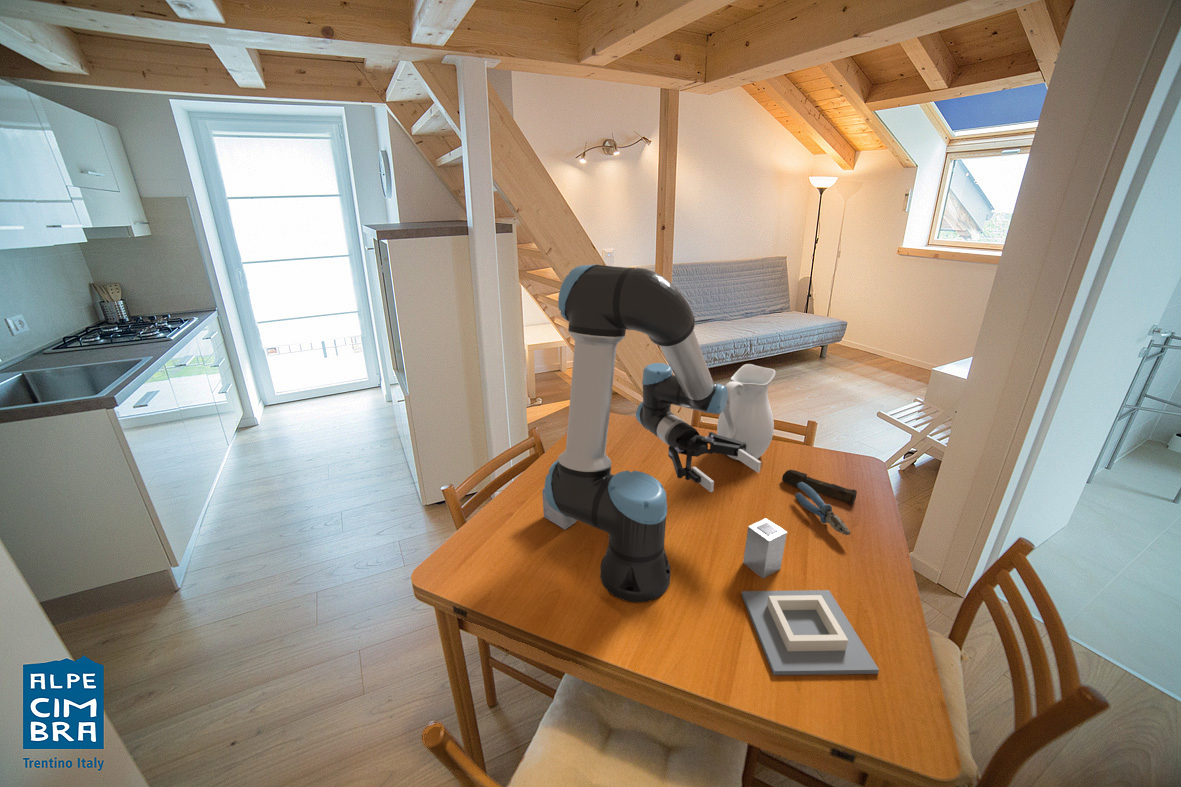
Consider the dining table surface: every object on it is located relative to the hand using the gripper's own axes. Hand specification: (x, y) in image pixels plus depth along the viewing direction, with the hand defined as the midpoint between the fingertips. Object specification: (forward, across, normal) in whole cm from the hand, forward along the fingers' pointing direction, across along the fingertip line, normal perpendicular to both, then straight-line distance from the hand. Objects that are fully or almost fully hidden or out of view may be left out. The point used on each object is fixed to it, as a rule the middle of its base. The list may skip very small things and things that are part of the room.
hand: (736, 476), depth 105 cm
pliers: (+4, -26, -21) cm, 34 cm away
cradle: (+26, +6, -17) cm, 32 cm away
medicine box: (-27, +33, -18) cm, 46 cm away
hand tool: (-4, -35, -22) cm, 42 cm away
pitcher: (-30, -30, -23) cm, 48 cm away
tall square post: (+10, 0, -18) cm, 21 cm away
